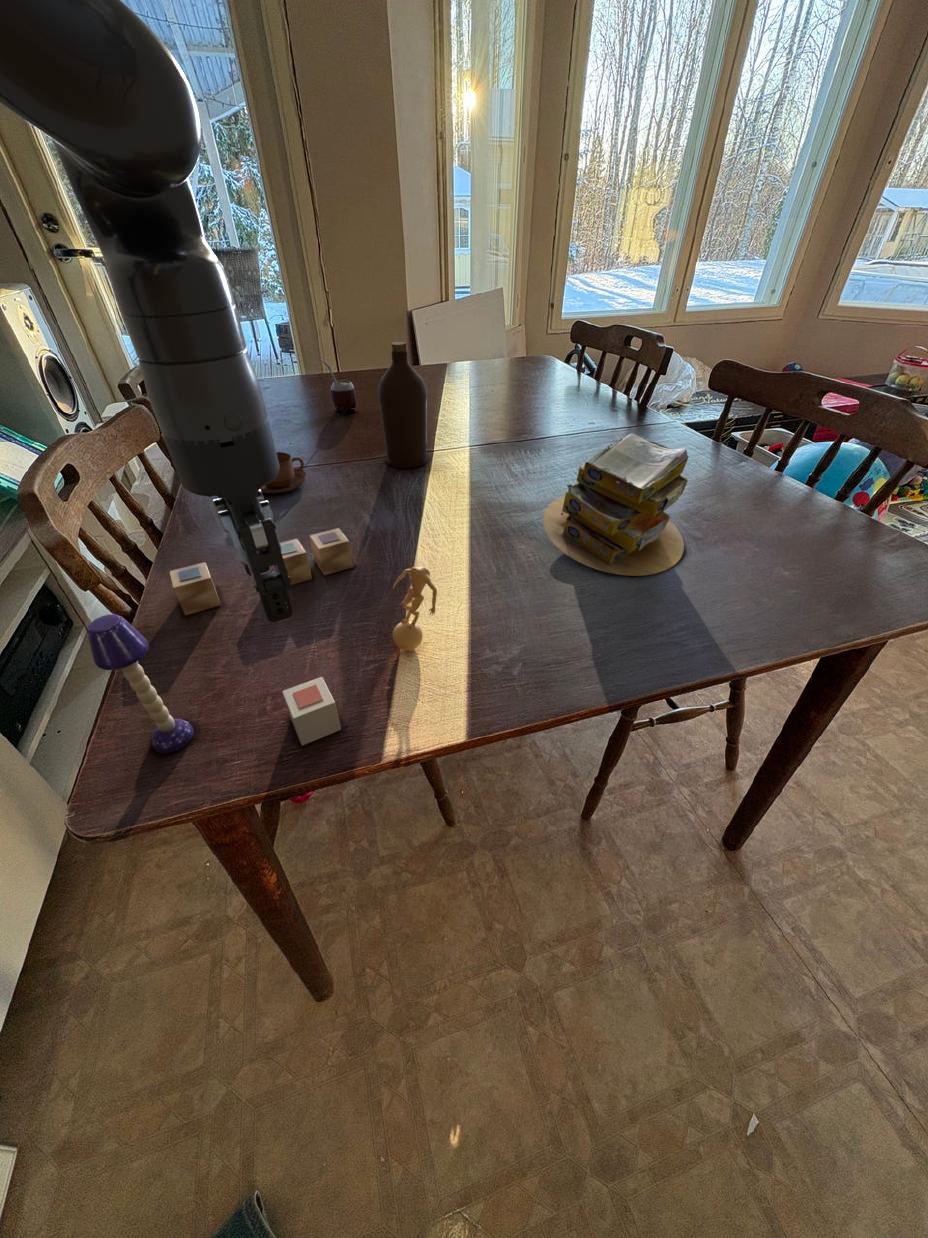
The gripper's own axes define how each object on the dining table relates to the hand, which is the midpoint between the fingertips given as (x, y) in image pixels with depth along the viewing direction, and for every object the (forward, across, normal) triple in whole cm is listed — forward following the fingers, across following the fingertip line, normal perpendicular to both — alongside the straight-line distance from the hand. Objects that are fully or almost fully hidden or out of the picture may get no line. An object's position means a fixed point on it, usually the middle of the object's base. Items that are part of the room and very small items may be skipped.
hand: (269, 593), depth 48 cm
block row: (+18, -31, +3) cm, 36 cm away
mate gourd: (+19, -110, +44) cm, 119 cm away
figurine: (+18, -6, +16) cm, 25 cm away
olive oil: (+19, -66, +44) cm, 81 cm away
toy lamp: (+18, -5, -14) cm, 23 cm away
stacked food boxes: (+19, -13, +60) cm, 64 cm away
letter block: (+18, +1, 0) cm, 18 cm away
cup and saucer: (+18, -67, +14) cm, 70 cm away
